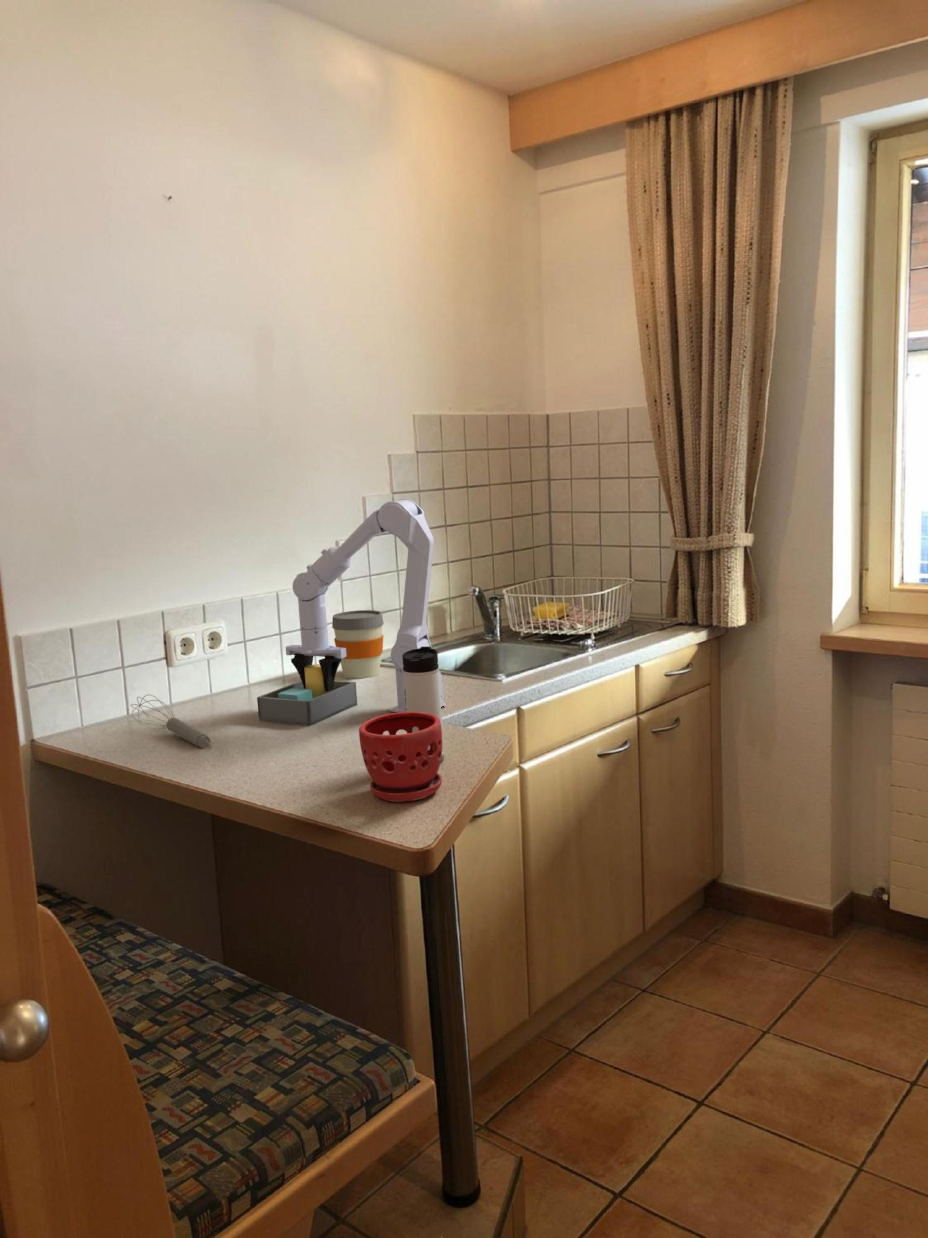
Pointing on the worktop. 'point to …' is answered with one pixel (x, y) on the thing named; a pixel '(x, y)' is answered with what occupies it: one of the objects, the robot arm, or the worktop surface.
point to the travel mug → (422, 683)
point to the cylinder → (315, 680)
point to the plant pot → (402, 755)
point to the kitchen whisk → (179, 727)
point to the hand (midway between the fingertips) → (318, 688)
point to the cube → (296, 694)
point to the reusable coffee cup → (359, 642)
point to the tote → (306, 704)
